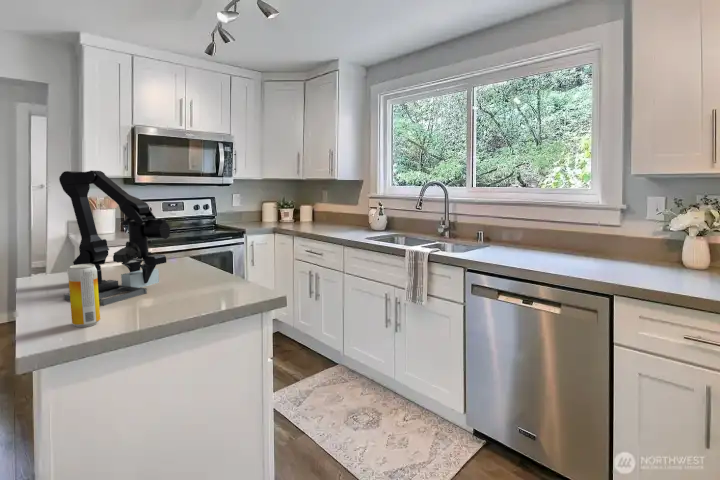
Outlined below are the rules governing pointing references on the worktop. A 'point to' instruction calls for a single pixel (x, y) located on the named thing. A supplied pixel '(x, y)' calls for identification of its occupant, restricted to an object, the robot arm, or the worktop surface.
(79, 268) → the beer can
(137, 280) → the panel
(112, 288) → the rack
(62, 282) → the worktop surface
